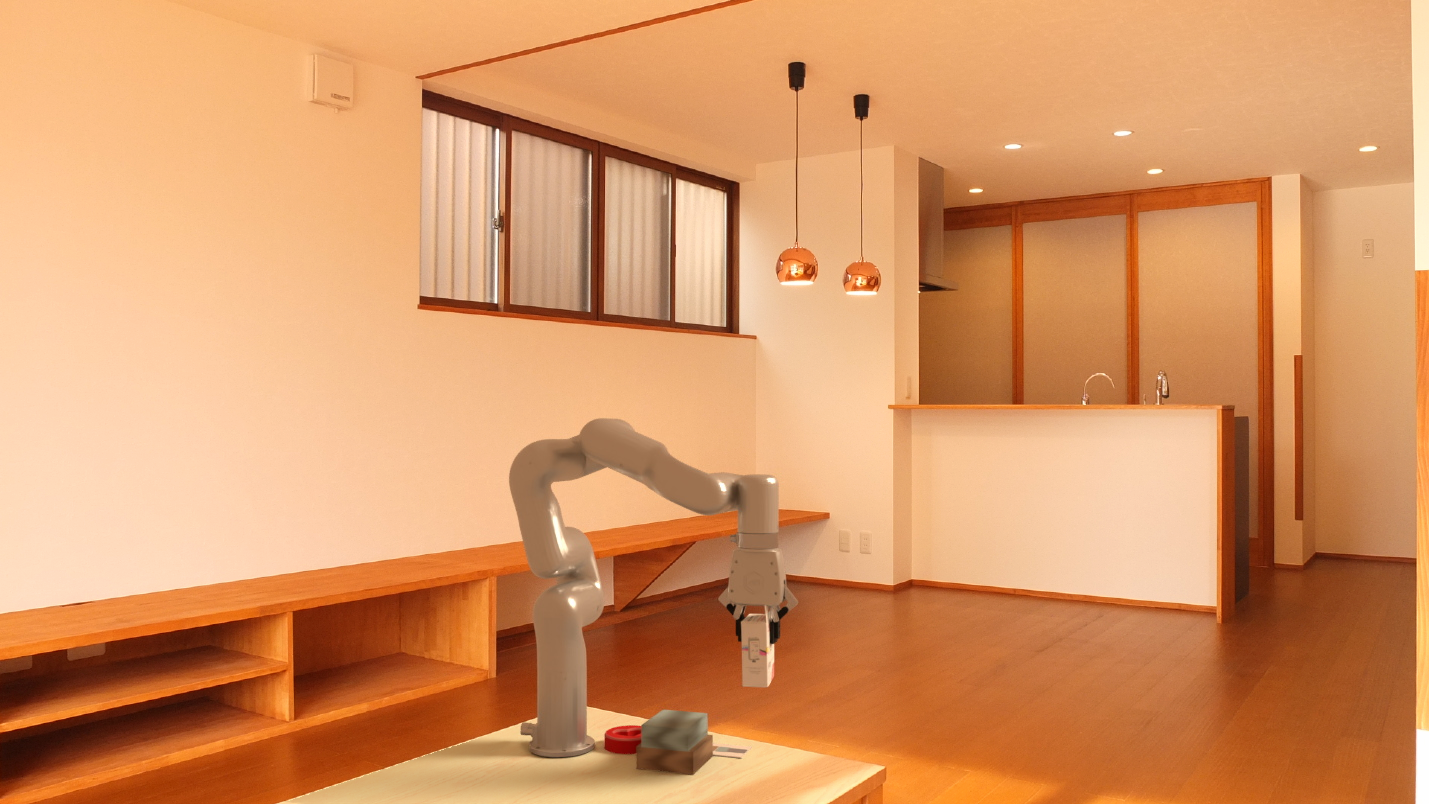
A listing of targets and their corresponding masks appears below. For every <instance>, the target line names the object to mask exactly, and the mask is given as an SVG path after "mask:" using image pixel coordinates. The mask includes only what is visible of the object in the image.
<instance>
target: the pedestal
mask: <svg viewBox="0 0 1429 804" xmlns="http://www.w3.org/2000/svg"><path fill="white" fill-rule="evenodd" d="M708 715H709V714H708V713H707V712H699V711H698V712H696V711H687V710H686V711H685V710H674V709H662V710H660V711H659V712H657V714H655V715H653V716H651V717H650V718H649V719H648V720H646V721H644V722H643V723H642V724H641V725H640V726H641V744H639V745H638V746H637V747H636V754H635V755H636V757H635V758H636V763H635V764H636V765H635V766H636V769H637V770H643V771H655V772H664V773H665V772H666V773H674V774H683V775H692V776H693V775H694V776H695V774H696V773H697V772H698V771H699V770H700V769H701V768H702V767H704V766H705V764H706V763H707V762H708V761H709V760H711V759H712V758H713V743H714V742H713V738H714V737H713V734H709V733H708V730H709V728H708V727H709V726H708V723H709V722H708V717H709V716H708Z"/></svg>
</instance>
